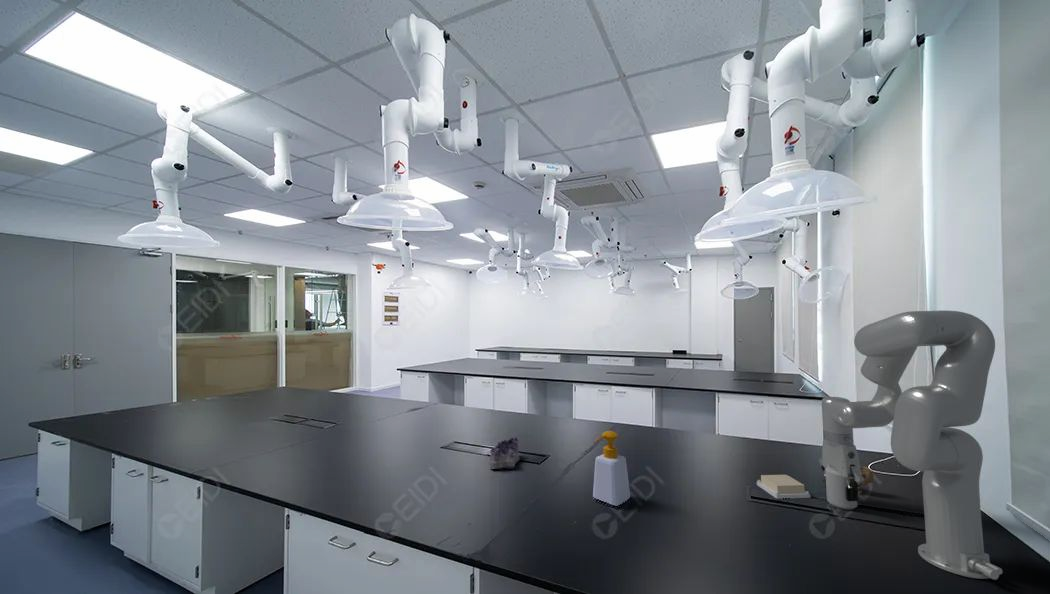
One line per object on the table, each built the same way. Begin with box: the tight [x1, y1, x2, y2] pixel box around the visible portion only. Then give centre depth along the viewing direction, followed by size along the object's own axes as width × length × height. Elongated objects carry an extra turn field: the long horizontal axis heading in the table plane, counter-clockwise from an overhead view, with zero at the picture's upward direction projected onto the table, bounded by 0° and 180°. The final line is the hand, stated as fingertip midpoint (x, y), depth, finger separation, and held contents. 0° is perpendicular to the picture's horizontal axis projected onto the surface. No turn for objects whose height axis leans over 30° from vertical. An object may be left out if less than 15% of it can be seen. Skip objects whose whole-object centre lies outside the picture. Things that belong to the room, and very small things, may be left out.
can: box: [825, 465, 858, 511], centre depth 126 cm, size 8×8×12 cm
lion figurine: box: [821, 466, 875, 496], centre depth 138 cm, size 15×5×9 cm, turn 34°
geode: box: [488, 437, 521, 470], centre depth 168 cm, size 20×12×10 cm, turn 168°
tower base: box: [756, 474, 811, 500], centre depth 137 cm, size 11×11×4 cm
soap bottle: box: [592, 430, 631, 507], centre depth 131 cm, size 10×14×22 cm
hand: (841, 494), depth 126 cm, fingers closed on can, 7 cm apart
